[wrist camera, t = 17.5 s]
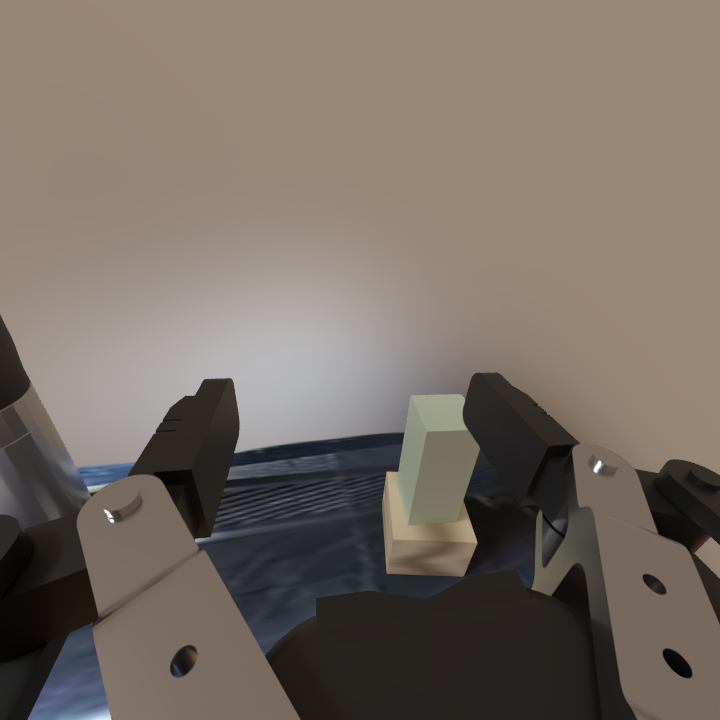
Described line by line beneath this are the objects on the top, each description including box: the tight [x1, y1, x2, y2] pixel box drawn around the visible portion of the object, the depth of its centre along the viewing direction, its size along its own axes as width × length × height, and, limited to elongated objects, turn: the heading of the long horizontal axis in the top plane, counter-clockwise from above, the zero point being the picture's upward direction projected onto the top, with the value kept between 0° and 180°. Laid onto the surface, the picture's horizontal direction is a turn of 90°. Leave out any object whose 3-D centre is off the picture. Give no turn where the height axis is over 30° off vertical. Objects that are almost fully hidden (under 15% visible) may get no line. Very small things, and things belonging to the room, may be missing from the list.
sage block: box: [397, 394, 480, 526], centre depth 30 cm, size 5×5×12 cm
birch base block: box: [382, 472, 477, 576], centre depth 34 cm, size 8×8×6 cm
